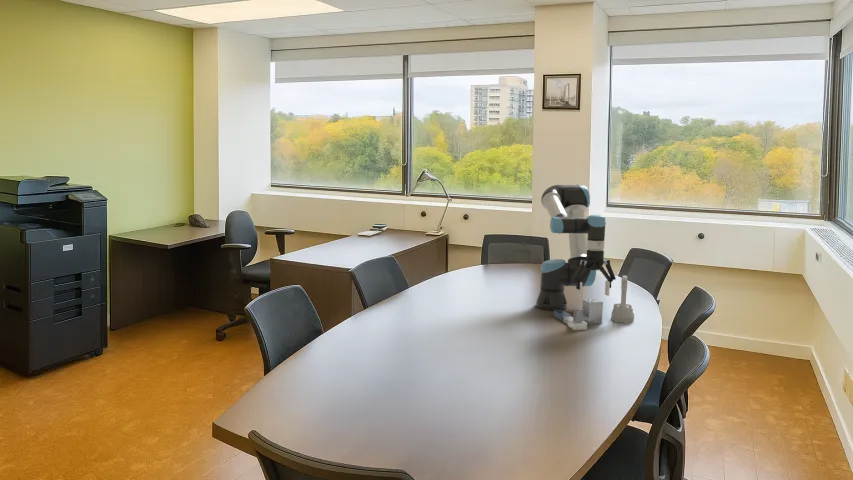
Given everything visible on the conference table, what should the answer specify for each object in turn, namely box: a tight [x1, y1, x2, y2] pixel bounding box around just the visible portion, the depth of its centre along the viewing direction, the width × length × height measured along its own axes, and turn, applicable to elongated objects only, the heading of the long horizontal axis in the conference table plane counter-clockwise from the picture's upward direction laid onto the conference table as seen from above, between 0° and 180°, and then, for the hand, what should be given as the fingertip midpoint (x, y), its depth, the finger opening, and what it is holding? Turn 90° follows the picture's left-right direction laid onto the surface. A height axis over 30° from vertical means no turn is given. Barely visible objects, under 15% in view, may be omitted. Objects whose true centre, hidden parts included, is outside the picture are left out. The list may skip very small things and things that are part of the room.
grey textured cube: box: [581, 298, 604, 325], centre depth 299 cm, size 7×7×10 cm
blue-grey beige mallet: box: [553, 309, 588, 331], centre depth 298 cm, size 24×6×8 cm, turn 13°
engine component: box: [610, 275, 635, 324], centre depth 303 cm, size 11×20×10 cm
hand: (593, 295), depth 298 cm, fingers open, 13 cm apart
